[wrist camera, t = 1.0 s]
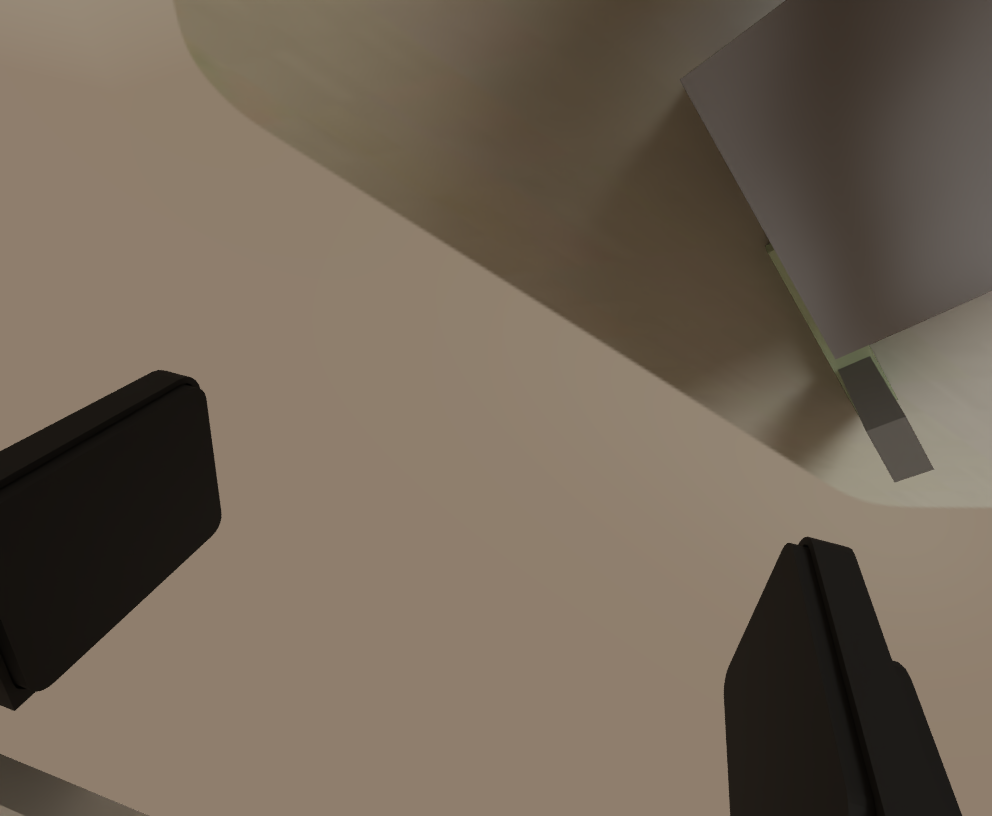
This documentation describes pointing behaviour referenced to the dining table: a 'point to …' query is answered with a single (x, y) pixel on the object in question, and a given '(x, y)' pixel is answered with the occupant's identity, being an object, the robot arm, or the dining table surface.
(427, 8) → the dining table surface
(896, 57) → the walnut cabinet
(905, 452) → the scraper tool
